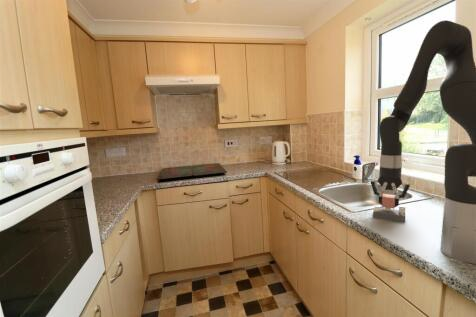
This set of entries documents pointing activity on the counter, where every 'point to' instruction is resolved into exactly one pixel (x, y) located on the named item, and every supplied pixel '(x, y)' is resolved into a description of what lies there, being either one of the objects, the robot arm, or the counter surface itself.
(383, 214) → the dark grey flat block
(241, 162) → the counter surface
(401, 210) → the breaker plain
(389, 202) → the pink cube
